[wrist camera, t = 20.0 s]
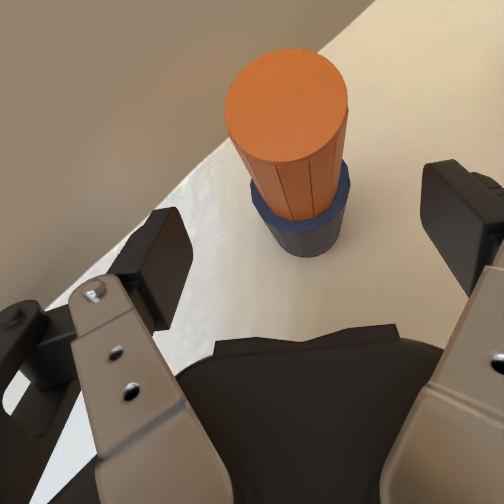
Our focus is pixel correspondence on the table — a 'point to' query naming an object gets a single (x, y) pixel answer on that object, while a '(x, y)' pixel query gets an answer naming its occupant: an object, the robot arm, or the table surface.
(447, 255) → the robot arm
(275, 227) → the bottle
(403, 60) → the table surface
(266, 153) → the grooved orange cylinder
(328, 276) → the table surface
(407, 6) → the table surface
